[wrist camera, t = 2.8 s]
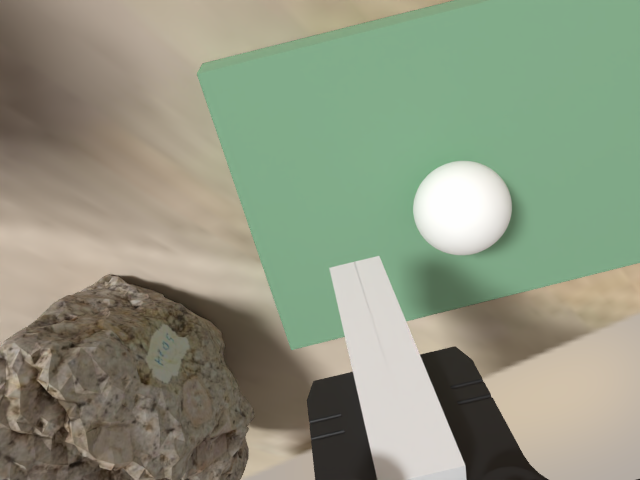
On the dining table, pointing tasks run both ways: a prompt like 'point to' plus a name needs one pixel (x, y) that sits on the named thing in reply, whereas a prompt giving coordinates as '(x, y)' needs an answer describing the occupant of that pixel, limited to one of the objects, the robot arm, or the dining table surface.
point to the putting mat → (436, 149)
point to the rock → (120, 392)
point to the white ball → (462, 208)
